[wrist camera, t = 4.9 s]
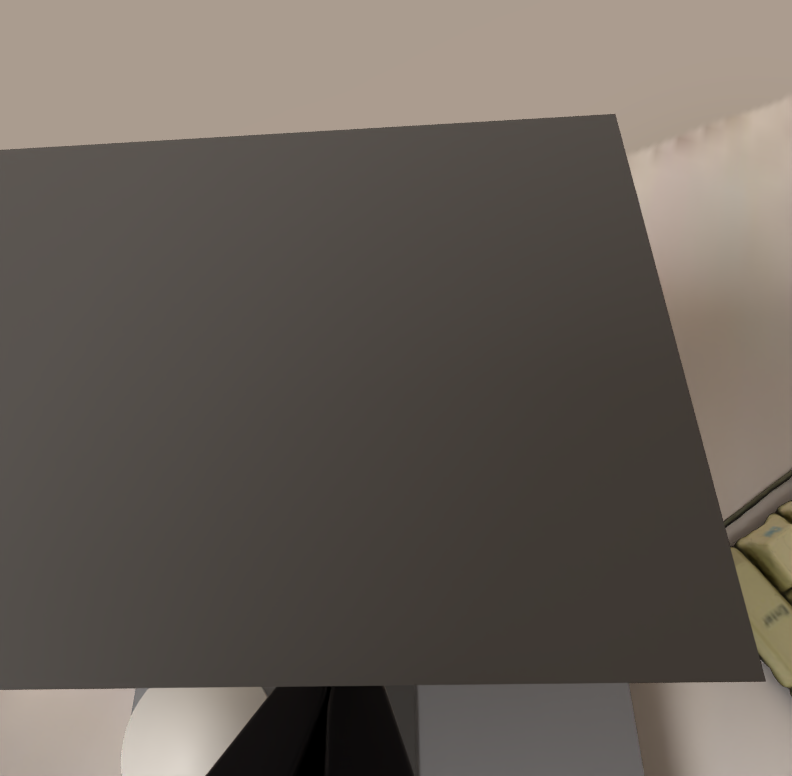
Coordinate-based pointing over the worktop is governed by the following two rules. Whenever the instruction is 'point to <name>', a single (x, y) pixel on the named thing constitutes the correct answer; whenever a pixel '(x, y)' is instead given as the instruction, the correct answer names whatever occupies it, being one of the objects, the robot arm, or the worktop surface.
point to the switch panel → (413, 729)
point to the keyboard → (768, 584)
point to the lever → (349, 418)
